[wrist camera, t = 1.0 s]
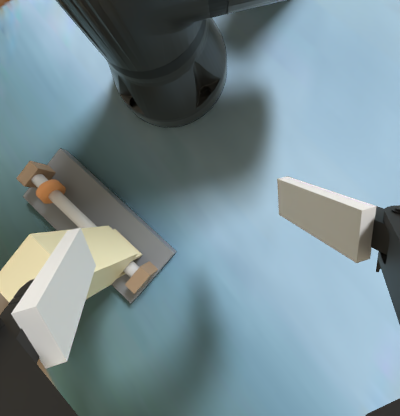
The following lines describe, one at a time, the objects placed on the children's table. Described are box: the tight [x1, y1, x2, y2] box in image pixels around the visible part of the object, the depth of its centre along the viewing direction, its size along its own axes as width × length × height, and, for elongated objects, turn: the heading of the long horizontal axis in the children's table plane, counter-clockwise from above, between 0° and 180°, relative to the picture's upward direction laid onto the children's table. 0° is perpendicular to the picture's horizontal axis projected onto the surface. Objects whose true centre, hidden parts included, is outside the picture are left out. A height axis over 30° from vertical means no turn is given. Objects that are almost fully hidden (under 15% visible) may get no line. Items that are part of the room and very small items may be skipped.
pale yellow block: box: [0, 226, 142, 302], centre depth 24 cm, size 5×5×14 cm
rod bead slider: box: [16, 148, 177, 303], centre depth 31 cm, size 22×9×5 cm, turn 49°
